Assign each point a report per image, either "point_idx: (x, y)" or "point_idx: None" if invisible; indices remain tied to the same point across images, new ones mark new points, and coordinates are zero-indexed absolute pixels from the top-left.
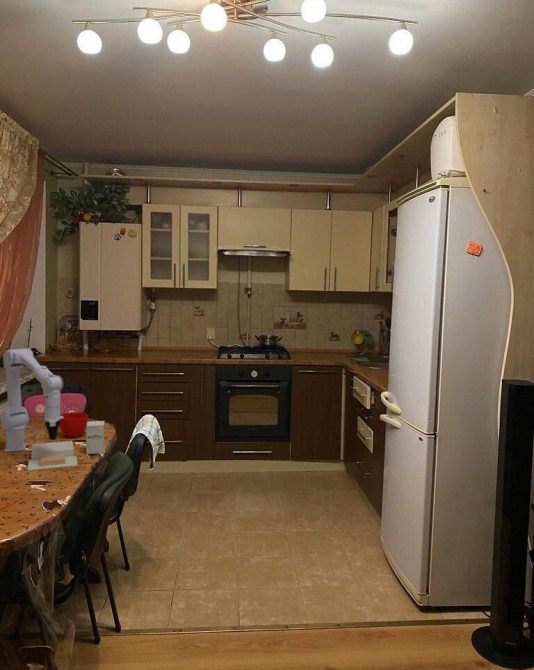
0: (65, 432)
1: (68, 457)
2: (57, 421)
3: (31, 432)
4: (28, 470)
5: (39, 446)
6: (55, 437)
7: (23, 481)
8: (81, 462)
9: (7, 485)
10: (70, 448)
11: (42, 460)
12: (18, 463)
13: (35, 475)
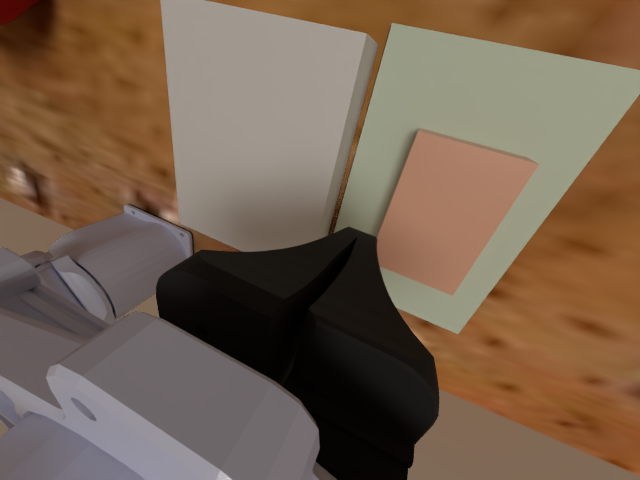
0: (13, 4)
1: (396, 92)
2: (234, 338)
3: (11, 140)
4: (459, 328)
5: (218, 212)
6: (376, 249)
7: (605, 404)
8: (576, 11)
9: (591, 449)
10: (325, 54)
11: (442, 281)
12: None
13: (564, 340)
